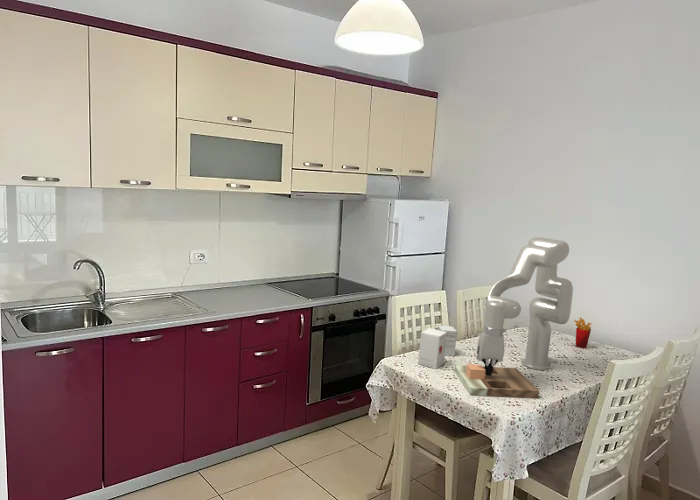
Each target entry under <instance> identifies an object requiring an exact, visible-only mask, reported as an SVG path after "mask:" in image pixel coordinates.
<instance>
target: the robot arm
mask: <svg viewBox="0 0 700 500" xmlns="http://www.w3.org/2000/svg"><path fill="white" fill-rule="evenodd" d="M569 253H570V246H569V244H568V243H567V242H566V241H563V240H559V239H552V238H546V237H532V238H530V240H529V241H528V244H526V245H524V246H522V247H521V249H520V251H519V252H518V255H517V257H516V259H515V261H514V264H513V266H512V267H511V270H510V272H509V274H507V275H505V276H503V277H502V278H501V279H499V280H498V281H497V282H495V284H493V285H492V287H491V288H490V291H489V293H488V295H487V297H486V300H485V302H484V304H485V305H484V306H485V311H484V313H485V314H484V321H483V332H480V335H479V338H478V342H477V345H476V360H477V361H479V362H482V363H483V364H484V366H483V367H484V369H485V370H486V371H485V374H486V375H487V376H491V373H492V372H493V367H496V365H497V363H501V362H503V361H504V355H505V337H504V333H507V329H506V328H504V323H505V319H506V320H507V319H509V320H510V319H511V320H512V319H515V318H517V317H518V316H520V313H521V311H522V306H521V304H520V303H519V302H518V301H516V300H513V299H509V298H507V297H506V298H505V297H502V296H501V295H502V294H503V293H504V292H506V291H508V290H509V289H512V288H517V287H520V286H525V285H527V284H529V283H530V281H531V279H532V277H533V274H534V273H535V271H536V273H535V274H536V275H535V285H534V287H535V292H536V293H537V294H538V295H540V296H543V297H536V298H533V299H531V301H530V303H529V326H528V332H527V333H528V335H527V342H526V350H525V357H524V358H523V359H521V361H520V363H521V364H522V365H523V366H524V367H526V368H529V369H533V370H538V371H547V370H550V369H551V364H559V363H558V362H559V360H558V358H553V357H549V350H550V342H551V335H552V327H551V324H550V322H551V323H555V324H557V325H558V324H559V325H565V324H567V323H568V322H569V320H570V317H571V312H572V304H573V303H572V302H573V293H574V287H573V283H572V282H571V281H570V279H568V278H563V277H559V276H558V264H560V263H562V262H563V261H564V260H566V259H567V257H568V256H569V255H570V254H569ZM544 297H547V298H544ZM550 298H551V299H550ZM552 299H555V300H552Z"/></svg>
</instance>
